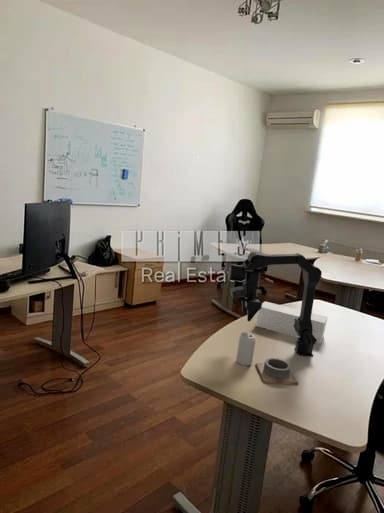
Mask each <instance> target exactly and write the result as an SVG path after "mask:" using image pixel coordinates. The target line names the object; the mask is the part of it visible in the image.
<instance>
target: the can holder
mask: <svg viewBox="0 0 384 513" xmlns="http://www.w3.org/2000/svg"><path fill="white" fill-rule="evenodd" d="M255 367H256V368H257V371H258V373H259V375H260V377H261V380H262V382H263V383H265V384H277V385H279V384H281V385H282V384H283V385H297V386H298V385H299V380H298V379H297V378H296V376H295V375H294V373H293V372H292V370H291V367H292V365H290V363H289V362H287V360H284V359H283V358H282V359H281V358H279V357H269V358H266V359H265V360H264V362H255Z"/></svg>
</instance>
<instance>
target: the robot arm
mask: <svg viewBox="0 0 384 513" xmlns="http://www.w3.org/2000/svg"><path fill="white" fill-rule="evenodd" d="M273 265H274V266H275V265H277V266H279V265H298V267H299V268H300V269H301V271H302V279H303V280H302V281H303V285H304V286H303V293H302V299H301V300H302V301H301V305H300V306H301V307H300V310H301V313H300V316H299V318H298V319H296V318H295V323H294V326H293V327H294V328H295V331H296V332H297V333H298V336H299V337H300V338H298V337H297V340H296V341H295V347H294V350H295V351H296V353H297V354H298V355H299V356H303V357H304V356H306V357H314V354H313V350H314V345H315V344H317V343H316V341H317V339H316V338H315V337H314V336H313V335H312V334H313V328H312V322H311V314H312V313H313V305H314V299H315V295H316V294H315V292H316V287H317V286H318V284H319V283H320V281H321V277H322V273H323V272H322V270H321V269H320V268H319V267H317V266H316V265H314V264H312V263H311V262H310V261H309V260H308V259H307V258H306V257H305V256H304V255H302V254H301V253H298V252H297V253H281V254H280V253H278V254H276V253H275V254H270V253H269V254H268V253H263V252H258V251H257V252H256V251H252V252H249V254H248V256H247V259H246V260H245V261H243V262H242V264H240V265H239V264H234V263H230V265H229V267H228V271H227V280H228V281H234V282H243V281H244V282H243V283H242V285H241V286H236V287H235V286H234V287H231V288H229V292H230V296H231V298H232V299H237V298H239V299H240V300H241V305H242V306H241V307H242V314H246V313H247V316H246V317H247V319H246V320H247V322H251V321H252V319H253V318H254V316H256V314H258V311H259V310H260V309H261V308H262V302H261V301H260V300H259V299H258V298H259V296H258V291H259V290H260V285H259V284H260V278H261V274H262V275H263V274H264V275H265V274H267V273H266V271H265V270H264V268H265V267H269V266H273Z"/></svg>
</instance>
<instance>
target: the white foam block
mask: <svg viewBox="0 0 384 513" xmlns="http://www.w3.org/2000/svg"><path fill="white" fill-rule="evenodd" d="M261 304H262V308H261V309H260V310H258V312H257V319H256V324H255V326H256V327H258V328H263V329H265V328H266V329H265V330H269V331H273V332H276V333H280V334H284V335H288V336H292V337H295V338H297V339H298V338H300V337H299V336H298V333H297V332H296V331H295V328H294V327H293V326H294V323H295V318H296V319H298V318H299V316H300V313H301V309H297V308H293V307H291V306H285V305H281V304H277V303H274V302H273V303H272V302H269V301H263V302H261ZM311 322H312V328H313V334H312V335H313V336H314V337H315V338H316V339H317V341H316V343H315V344H320V345H321V344H322V341H323V339H324V338H325V337H324V335H325V331H326V327H327V326H326V325H327V322H328V316H326V315H322V314H317V313H314V312H312V314H311Z"/></svg>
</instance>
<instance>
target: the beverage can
mask: <svg viewBox="0 0 384 513" xmlns="http://www.w3.org/2000/svg"><path fill="white" fill-rule="evenodd" d="M238 338H239V339H238V346H237V351H236V357H235V358H236V362H237V363H238V364H239V365H241V366H250V365H251V364H252V363H253V360H254V359H253V358H254V352H255V345H256V335H255V334H253V333H251V332H247V331H245V332H241V333H240V336H239V337H238Z"/></svg>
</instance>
